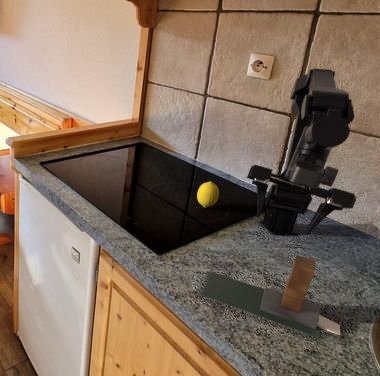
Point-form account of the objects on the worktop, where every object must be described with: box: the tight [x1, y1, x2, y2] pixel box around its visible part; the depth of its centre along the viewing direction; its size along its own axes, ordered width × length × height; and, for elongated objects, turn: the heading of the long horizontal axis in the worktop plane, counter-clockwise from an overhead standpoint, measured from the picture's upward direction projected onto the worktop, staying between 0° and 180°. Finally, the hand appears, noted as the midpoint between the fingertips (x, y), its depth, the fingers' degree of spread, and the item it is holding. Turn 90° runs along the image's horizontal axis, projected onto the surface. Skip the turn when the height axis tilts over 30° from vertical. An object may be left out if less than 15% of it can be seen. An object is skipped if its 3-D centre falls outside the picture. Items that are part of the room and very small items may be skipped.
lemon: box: [196, 181, 220, 209], centre depth 113 cm, size 6×6×8 cm
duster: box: [260, 255, 320, 329], centre depth 73 cm, size 9×5×11 cm, turn 57°
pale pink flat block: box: [317, 314, 341, 336], centre depth 72 cm, size 4×3×1 cm
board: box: [200, 271, 322, 339], centre depth 78 cm, size 20×9×1 cm, turn 57°
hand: (281, 225), depth 82 cm, fingers open, 9 cm apart
